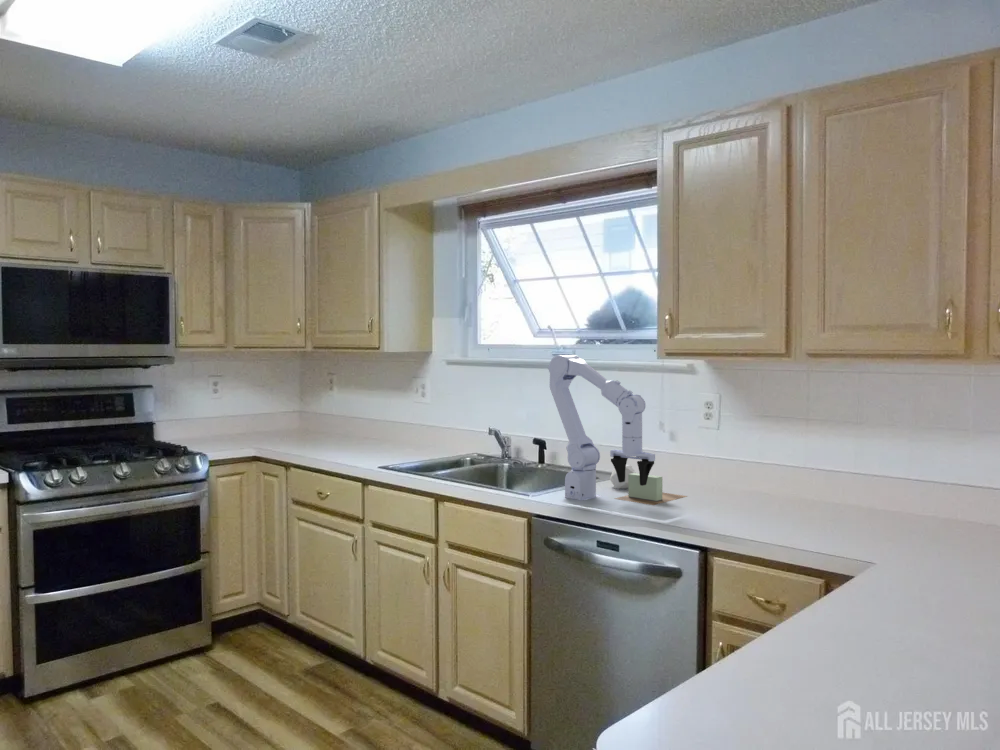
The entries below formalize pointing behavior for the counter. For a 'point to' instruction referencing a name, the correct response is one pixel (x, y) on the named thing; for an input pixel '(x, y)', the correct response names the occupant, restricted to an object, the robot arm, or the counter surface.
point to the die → (625, 484)
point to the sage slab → (645, 487)
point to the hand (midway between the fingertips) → (632, 483)
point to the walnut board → (665, 498)
